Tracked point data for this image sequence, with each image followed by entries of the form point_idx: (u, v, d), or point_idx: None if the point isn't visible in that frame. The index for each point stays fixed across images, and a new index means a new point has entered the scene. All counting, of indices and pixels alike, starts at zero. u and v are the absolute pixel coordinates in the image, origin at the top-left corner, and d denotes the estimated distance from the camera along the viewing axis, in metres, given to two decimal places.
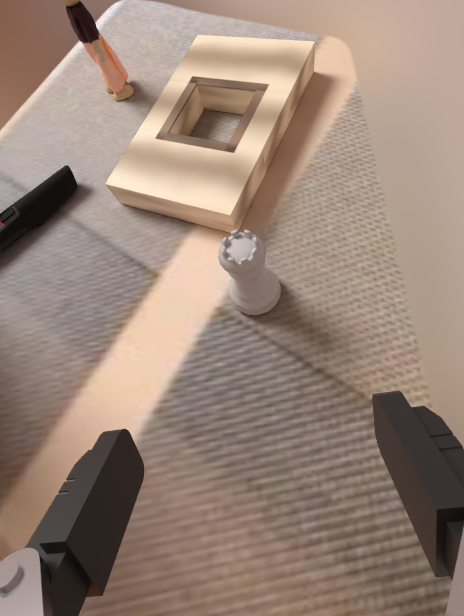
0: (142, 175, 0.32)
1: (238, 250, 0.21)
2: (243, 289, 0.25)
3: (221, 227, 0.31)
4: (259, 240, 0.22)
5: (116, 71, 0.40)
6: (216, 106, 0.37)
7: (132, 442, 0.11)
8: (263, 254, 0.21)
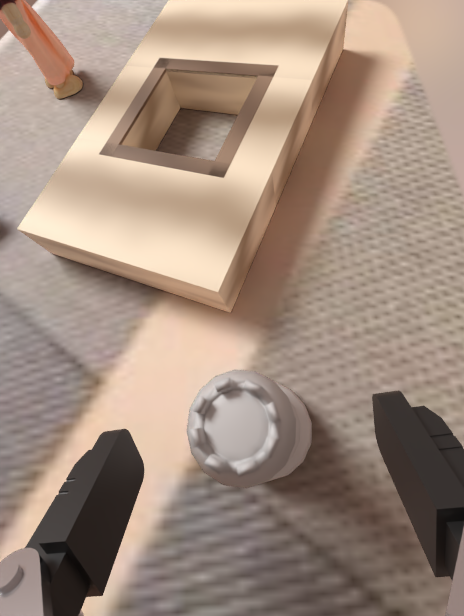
0: (75, 215, 0.19)
1: (231, 431, 0.09)
2: None
3: (204, 301, 0.18)
4: (280, 400, 0.09)
5: (55, 56, 0.28)
6: (197, 103, 0.24)
7: (132, 442, 0.11)
8: (291, 438, 0.09)
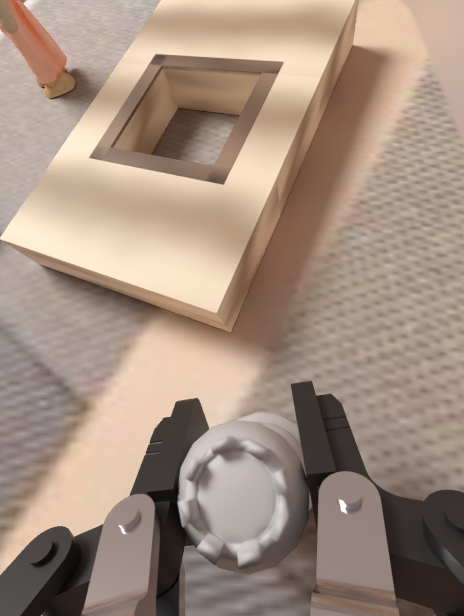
0: (61, 224, 0.18)
1: (231, 505, 0.07)
2: None
3: (202, 320, 0.17)
4: (290, 463, 0.08)
5: (46, 53, 0.26)
6: (196, 103, 0.23)
7: (202, 411, 0.12)
8: (304, 512, 0.07)
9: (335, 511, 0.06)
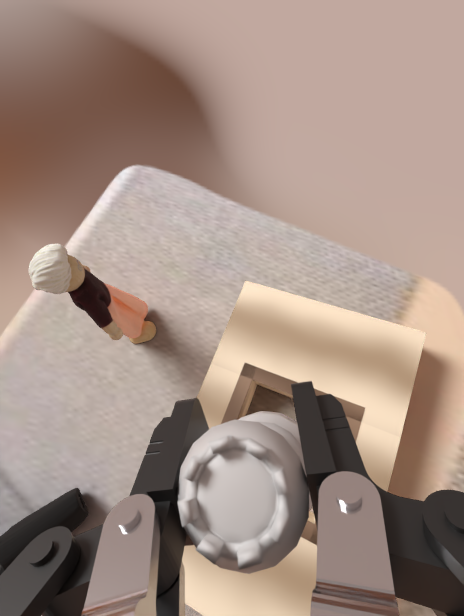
0: (183, 560, 0.21)
1: (231, 504, 0.07)
2: None
3: None
4: (290, 463, 0.08)
5: (133, 315, 0.30)
6: (277, 391, 0.26)
7: (202, 411, 0.12)
8: (304, 511, 0.07)
9: (335, 511, 0.06)
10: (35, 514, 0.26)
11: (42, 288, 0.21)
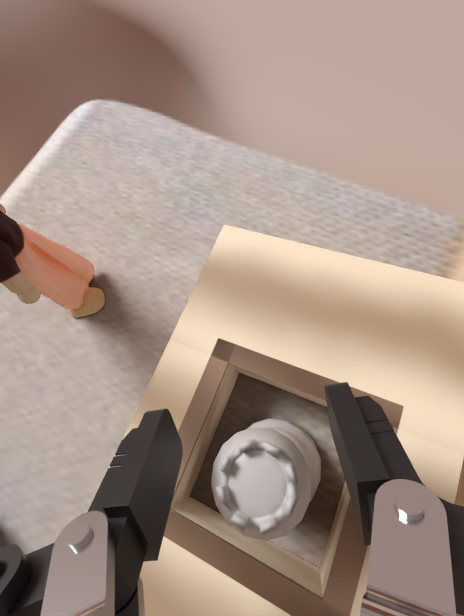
0: None
1: (253, 489, 0.10)
2: None
3: None
4: (297, 459, 0.10)
5: (71, 276, 0.21)
6: (266, 382, 0.18)
7: (172, 422, 0.11)
8: (307, 495, 0.10)
9: (392, 519, 0.06)
10: None
11: None
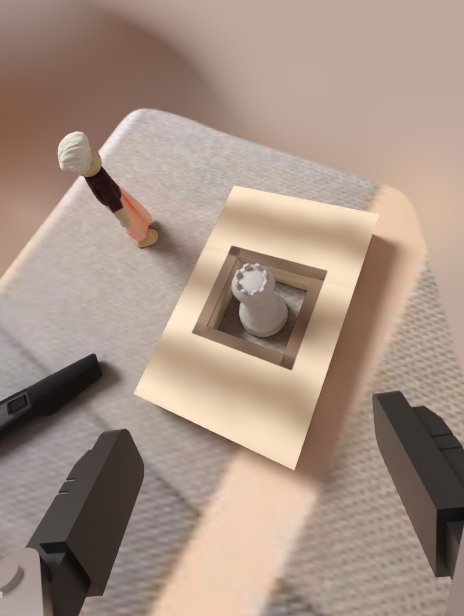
0: (178, 387, 0.27)
1: (250, 282, 0.23)
2: (254, 314, 0.27)
3: None
4: (269, 272, 0.24)
5: (139, 219, 0.35)
6: None
7: (132, 442, 0.11)
8: (273, 285, 0.23)
9: None
10: None
11: (68, 166, 0.26)
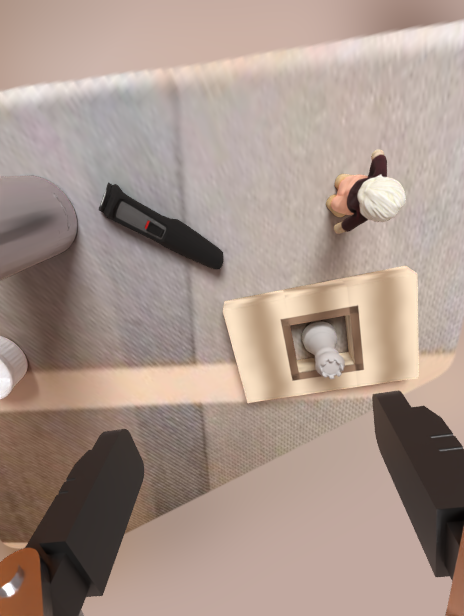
0: (244, 333, 0.40)
1: (329, 368, 0.36)
2: (313, 352, 0.39)
3: None
4: (341, 371, 0.36)
5: None
6: (345, 318, 0.41)
7: (132, 442, 0.11)
8: None
9: None
10: (195, 236, 0.37)
11: (362, 209, 0.25)
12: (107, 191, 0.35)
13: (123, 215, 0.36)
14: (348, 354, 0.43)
